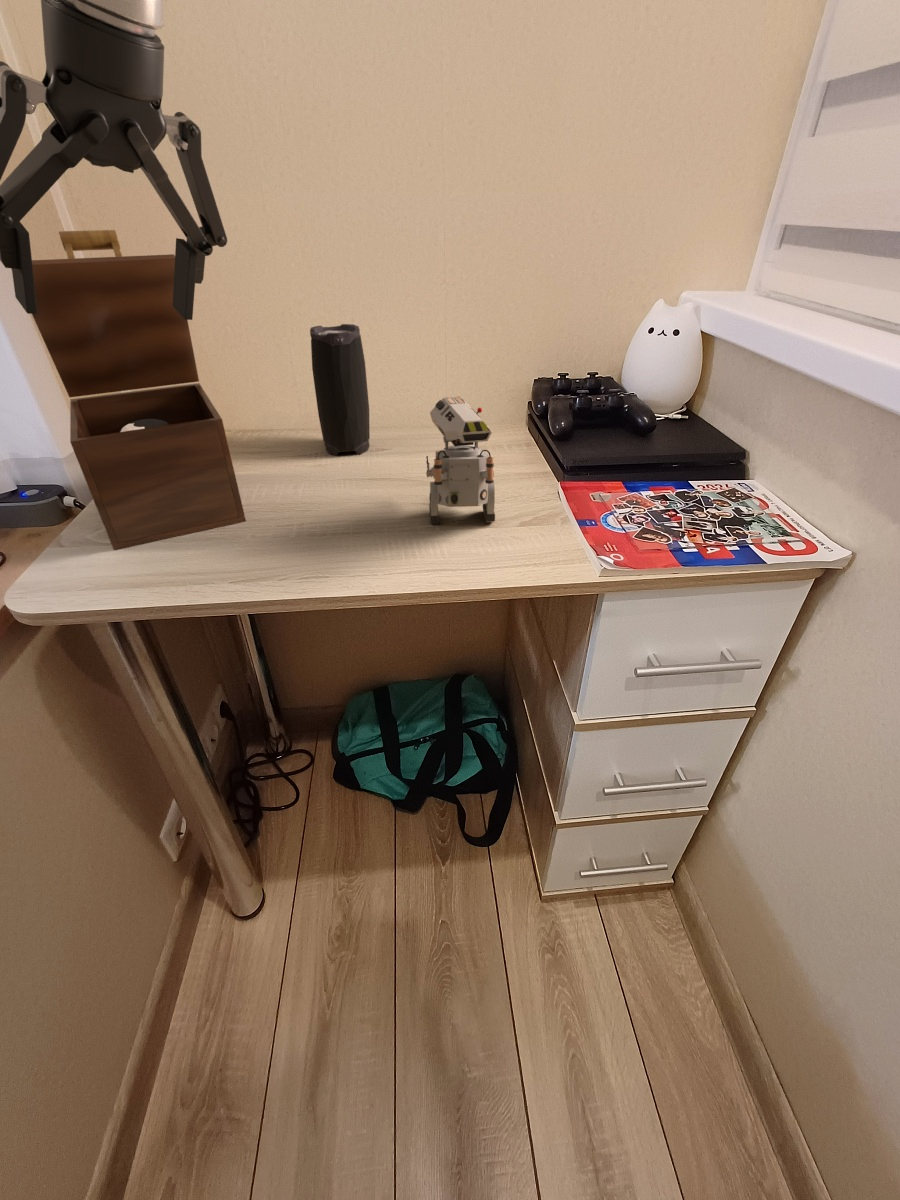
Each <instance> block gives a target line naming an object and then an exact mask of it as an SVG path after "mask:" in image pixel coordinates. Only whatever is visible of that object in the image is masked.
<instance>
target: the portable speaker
mask: <svg viewBox="0 0 900 1200" xmlns="http://www.w3.org/2000/svg"><path fill="white" fill-rule="evenodd" d="M309 334H310V335H309V336H310V351H311V369H312V377H313V384H314V393H315V399H316V405H317V406H316V407H317V414H318V419H319V425H320V430H321V435H322V441H323V442H324V448H325V452H327V453H328V454H329V455H333V456H337V455H339V453H341V452H342V453H343V452H354V453H355V454H356V455H362V454H364V453H366V452H368V451H369V449H370V434H371V433H370V402H369V391H368V379H367V368H366V359H365V354H364V348H363V342H362V336H361V333H360V326H358V325H356V324H353V323H352V324H350V323H342V324H340V325H335V326H322V325H316V326H311V327H310V329H309Z"/></svg>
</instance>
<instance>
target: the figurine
mask: <svg viewBox="0 0 900 1200" xmlns="http://www.w3.org/2000/svg"><path fill="white" fill-rule="evenodd" d="M476 411H477V412H476ZM476 411H475V409H473V408H472V407H471V406H470V405H469V404H468V403H467V402H466V401H465V400H464V399H463V398H462V397H461V396H446V397H443V398H442V399H440V400H438V401H437V402H436V403H435V406H434V408H432V409H431V410H430V412H429V415H430V419H431V421H432V423H433V424H434V426H435V427H436V428H437V430H438V431H439V432H440V433H441V435H442V436H443V437H442V439H443V444H444V448H443V449H439V450H435V458H434V459H433V460H434V461H433V465H432V467H431V464H430V462H429V456H428V455H426V457H425V459H426V469H427V470H426V472H425V473H426V474H425V475H426V477H427V478H432V479H434V480H433V481H431V482H429V503H428V507H429V508H428V509H429V522H430V524H431V525H438V524H440V512H439V505H441V506H444V507H449V508H453V507H454V508H462V507H481V506H482V510H483V515H484V518H485V522H486V523H494V522H496V513H495V503H496V501H495V500H496V490H495V487H496V486H495V480H494V477H495V470H494V467H495V463H494V462H495V461H494V457H492V456H491V452H490V450H488V449H481V448H480V447H479V443H482V442H488V441H489V439H490V437H491V436H492V431H491V430H490V427H489V426H488V425H487V424H486V423H485V421H484V420H483V419H482V418H481V416H479V414H480V413H482V412H483V408H482V407H478V408H477V410H476ZM449 443H451V444H452V445H449Z"/></svg>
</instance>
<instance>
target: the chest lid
mask: <svg viewBox="0 0 900 1200" xmlns="http://www.w3.org/2000/svg"><path fill="white" fill-rule="evenodd" d="M58 235H59V238H60V241H61V244H62V247H63V249H64V252H66V257H67V258H55V259H32V266H33V275H34V285H35V294H36V303H37V313H38V314H31V315H32V318H33V320H34V322H35V324H36V327H37V329H38V332H39V334H40V335H41V337H42V340H43V342H44V345H45V347H46V349H47V351H48V354H49V355H50V358H51V360H52V362H53V365H54V366H55V369H56V371H57V373H58V375H59V378H60V380H61V383H62V385H63V386H64V389H65V391H66V393H67V396H68V398H77V397H78V398H79V397H87V396H95V395H103V394H111V393H119V392H127V391H135V390H143V389H151V388H160V387H168V386H176V385H184V384H192V383H200V379H199V373H198V369H197V362H196V356H195V351H194V347H193V341H192V337H191V331H190V326H189V320H185V319H184V318H183V317H182V316H181V315H180V313H179V312H178V311H177V310H176V309H175V308H174V307H173V288H174V268H175V253H174V254H173V253H172V254H150V255H149V254H148V255H124V256H123V254H122V251H121V245H120V241H119V238H118V234H117V232H116V230H115V229H99V230H95V229H93V230H62V231H61V230H59V231H58ZM110 250H112V251H113V253H114V256H105V257H104V256H103V257H102V256H101V257H80V258H79V257H78V258H76V256H75V252H81V251H83V252H84V251H85V252H86V251H110ZM10 269H11V270H12V268H10Z"/></svg>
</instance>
